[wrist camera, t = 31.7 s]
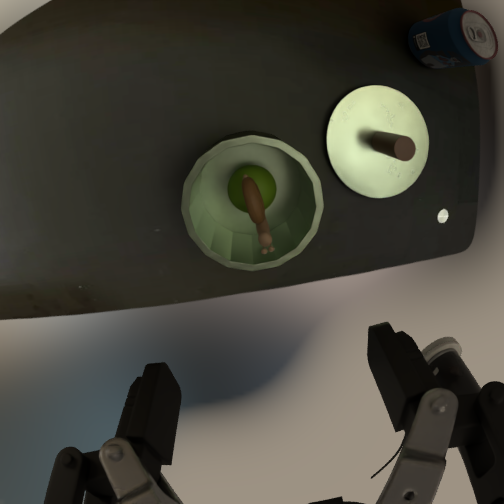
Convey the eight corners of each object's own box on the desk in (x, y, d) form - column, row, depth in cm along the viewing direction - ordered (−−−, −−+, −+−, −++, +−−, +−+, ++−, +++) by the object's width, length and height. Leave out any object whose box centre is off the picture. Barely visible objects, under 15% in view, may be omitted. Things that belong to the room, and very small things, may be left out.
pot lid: (427, 188, 37) (456, 203, 30) (332, 204, 38) (350, 223, 31) (417, 84, 30) (448, 82, 24) (314, 90, 31) (330, 85, 25)
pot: (313, 226, 39) (329, 256, 31) (210, 247, 40) (203, 281, 32) (295, 121, 33) (310, 124, 25) (182, 146, 34) (165, 155, 26)
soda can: (437, 25, 26) (491, 10, 15) (449, 69, 29) (507, 67, 18) (397, 22, 27) (449, 0, 16) (410, 69, 30) (467, 62, 19)
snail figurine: (240, 218, 38) (239, 263, 27) (221, 170, 35) (212, 197, 24) (282, 204, 37) (298, 244, 26) (265, 155, 34) (276, 174, 23)
